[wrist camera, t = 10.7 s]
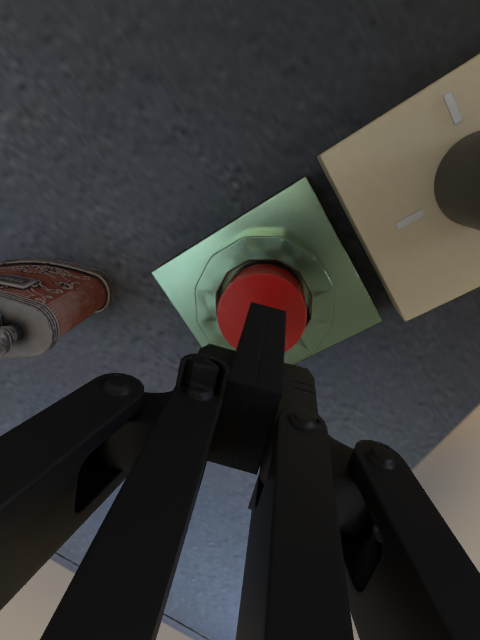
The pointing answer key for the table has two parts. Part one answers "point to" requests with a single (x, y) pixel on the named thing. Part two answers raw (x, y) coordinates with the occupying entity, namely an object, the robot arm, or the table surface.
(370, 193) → the hob panel
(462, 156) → the hob knob
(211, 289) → the box
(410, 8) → the table surface
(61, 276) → the lighter
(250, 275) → the button
